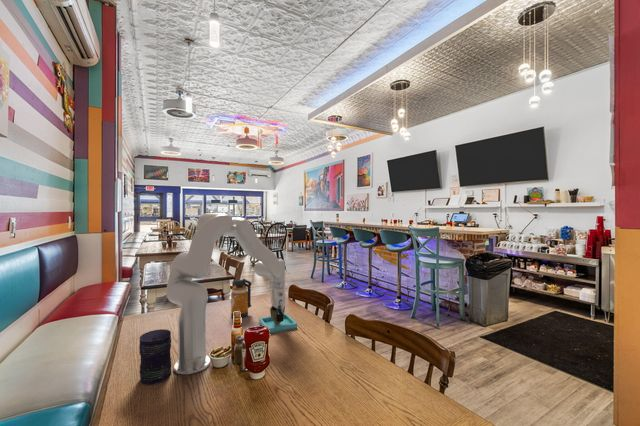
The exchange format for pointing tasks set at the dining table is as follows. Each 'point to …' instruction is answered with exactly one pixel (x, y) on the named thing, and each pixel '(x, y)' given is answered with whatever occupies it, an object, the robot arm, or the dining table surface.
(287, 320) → the dish
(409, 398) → the dining table surface
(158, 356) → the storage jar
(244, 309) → the canister
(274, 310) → the cup
